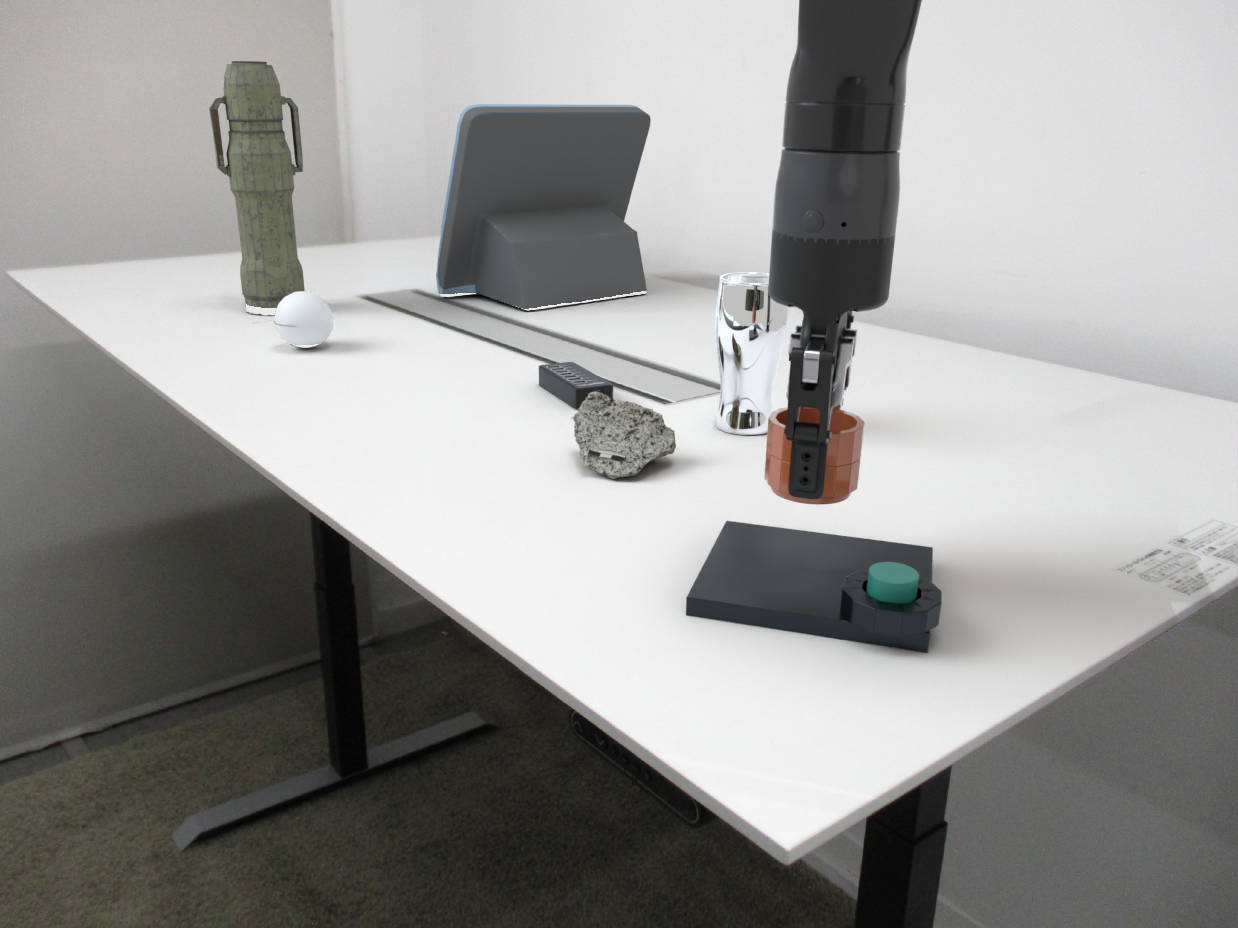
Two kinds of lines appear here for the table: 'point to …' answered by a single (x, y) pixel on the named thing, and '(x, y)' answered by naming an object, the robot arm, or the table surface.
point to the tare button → (892, 582)
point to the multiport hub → (572, 382)
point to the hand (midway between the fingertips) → (811, 477)
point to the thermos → (261, 180)
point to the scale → (813, 586)
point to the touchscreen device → (542, 204)
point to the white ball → (303, 319)
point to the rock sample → (620, 435)
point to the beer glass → (747, 351)
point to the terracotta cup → (838, 462)
